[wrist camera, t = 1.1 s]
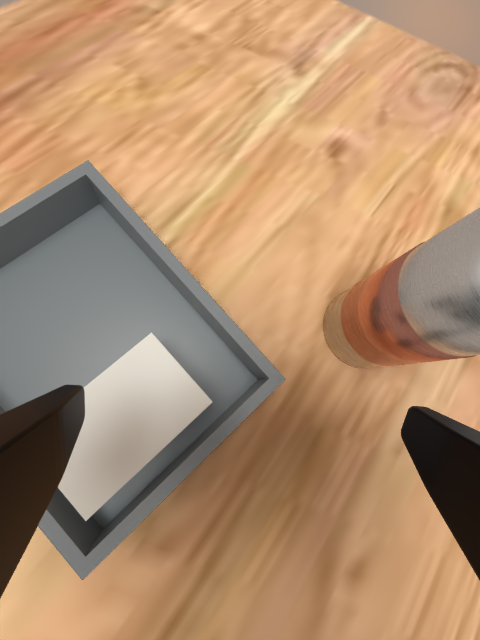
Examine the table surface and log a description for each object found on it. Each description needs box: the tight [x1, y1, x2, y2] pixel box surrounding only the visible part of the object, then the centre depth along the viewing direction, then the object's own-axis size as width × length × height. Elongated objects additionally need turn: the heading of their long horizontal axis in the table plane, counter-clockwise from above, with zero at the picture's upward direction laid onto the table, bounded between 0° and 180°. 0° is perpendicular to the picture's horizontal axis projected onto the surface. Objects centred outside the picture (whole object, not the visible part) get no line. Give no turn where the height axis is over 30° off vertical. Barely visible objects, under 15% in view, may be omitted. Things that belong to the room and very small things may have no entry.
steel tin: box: [323, 208, 480, 368], centre depth 18 cm, size 6×6×13 cm
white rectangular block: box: [58, 332, 212, 521], centre depth 18 cm, size 5×8×4 cm, turn 133°
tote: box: [0, 160, 285, 580], centre depth 19 cm, size 18×14×4 cm
